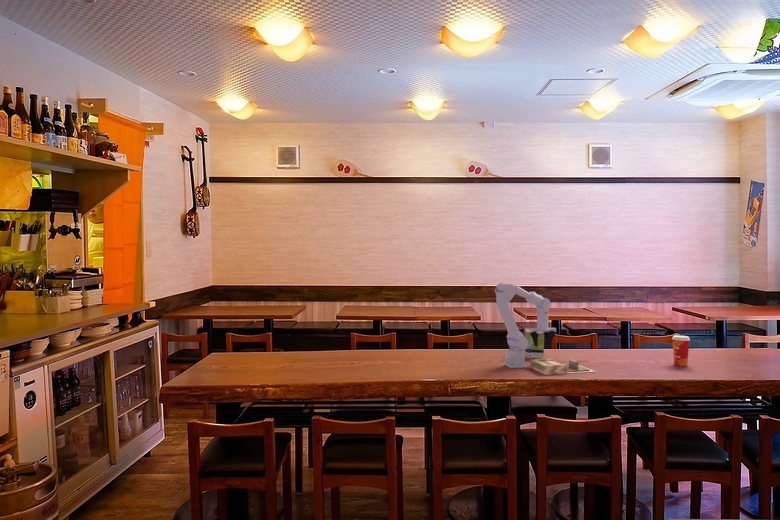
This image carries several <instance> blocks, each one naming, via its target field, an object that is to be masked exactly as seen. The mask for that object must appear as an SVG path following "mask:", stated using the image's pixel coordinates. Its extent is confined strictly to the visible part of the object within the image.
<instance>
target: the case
mask: <svg viewBox="0 0 780 520" xmlns="http://www.w3.org/2000/svg"><path fill="white" fill-rule="evenodd" d="M530 369H532V370H534V371H536V372H537V373H540V374H542V375H544V376H547V375H565V374H566V375H567V374H568V373H567V364H564V363H563V364H562V363H560V362H557V361H555V359H554V358H543V359H530Z"/></svg>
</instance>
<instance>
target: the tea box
mask: <svg viewBox="0 0 780 520" xmlns="http://www.w3.org/2000/svg"><path fill="white" fill-rule="evenodd" d="M529 329H530V328H524V333H523V335H524V337H525V338H526V339H527V341H528V346H527V348H526V349H525V359H532V358H535V359H534V360H536V359H545V358H544V355H545V354H544V353H545V332H536V333H537V334H538V345H537V346H534V342H533V339H532V336H531V334H530V332H529Z"/></svg>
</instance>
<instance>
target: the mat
mask: <svg viewBox="0 0 780 520" xmlns="http://www.w3.org/2000/svg"><path fill="white" fill-rule="evenodd" d="M578 365H579V366H581V367H584V368H586V369H589V370H590V371H581V372H569V371H567V374H586V373H588V374H589V373H596V371H595V370H592V369H590V368H587V367H585V366H583V365H580V364H578Z"/></svg>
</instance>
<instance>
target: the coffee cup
mask: <svg viewBox="0 0 780 520" xmlns="http://www.w3.org/2000/svg"><path fill="white" fill-rule="evenodd" d="M671 339H672V353H673V354H672V355H673V365H674V364H675V365H674V366H676V365H679V366H678V367H687V366H688V363H689V362H688V361H689V351H690V350H689V349H690V348H689V346H690V341H691V339H690V337H689V336H687V335H676V334H675V335H673V336H672V338H671Z"/></svg>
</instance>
